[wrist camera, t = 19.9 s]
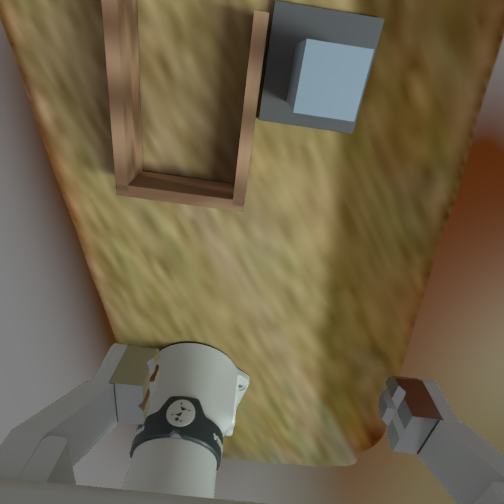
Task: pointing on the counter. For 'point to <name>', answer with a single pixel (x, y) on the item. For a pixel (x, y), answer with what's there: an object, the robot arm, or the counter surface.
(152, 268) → the counter surface
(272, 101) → the pad
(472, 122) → the counter surface
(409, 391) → the robot arm
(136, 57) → the frame
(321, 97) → the block
